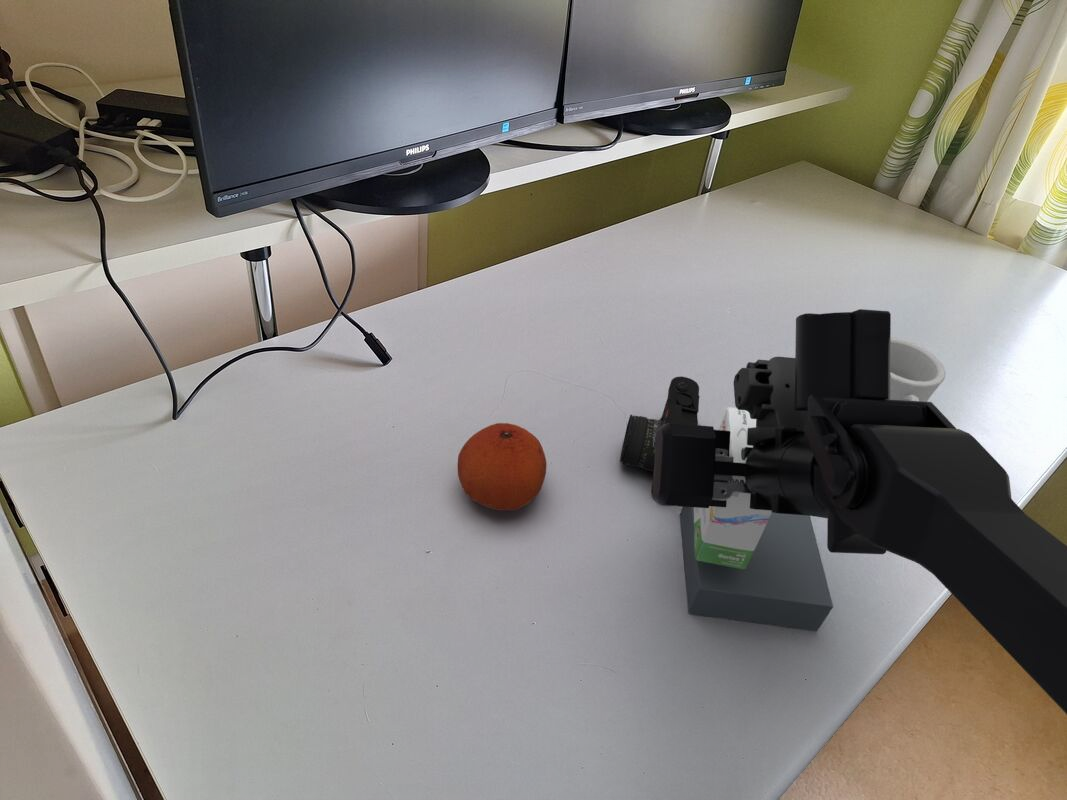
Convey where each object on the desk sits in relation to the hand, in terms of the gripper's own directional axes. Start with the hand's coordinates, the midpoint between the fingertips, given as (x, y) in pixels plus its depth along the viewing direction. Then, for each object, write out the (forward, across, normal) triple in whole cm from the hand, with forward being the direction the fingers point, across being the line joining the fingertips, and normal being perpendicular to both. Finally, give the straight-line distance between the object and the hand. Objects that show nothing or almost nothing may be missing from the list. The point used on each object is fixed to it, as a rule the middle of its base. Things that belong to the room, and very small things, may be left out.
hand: (738, 470), depth 67 cm
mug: (+23, -25, -6) cm, 34 cm away
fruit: (+13, +20, +4) cm, 25 cm away
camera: (+18, +3, -1) cm, 18 cm away
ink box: (+4, 0, +6) cm, 7 cm away
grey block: (+8, -4, +9) cm, 13 cm away
